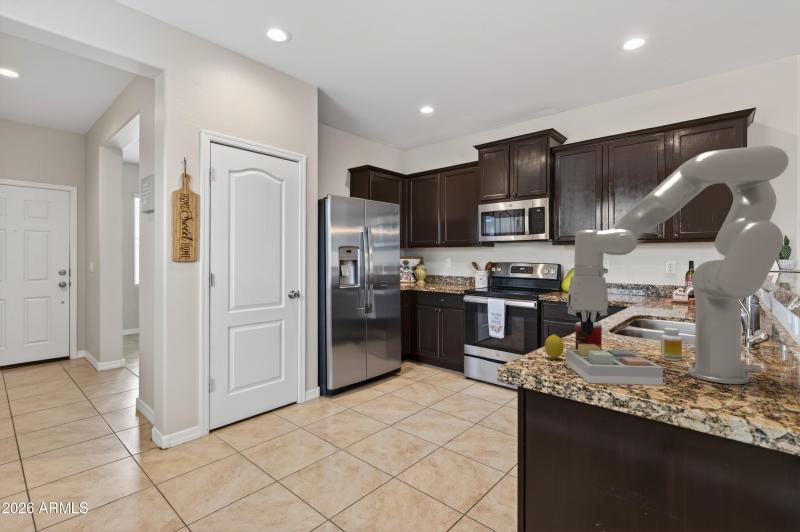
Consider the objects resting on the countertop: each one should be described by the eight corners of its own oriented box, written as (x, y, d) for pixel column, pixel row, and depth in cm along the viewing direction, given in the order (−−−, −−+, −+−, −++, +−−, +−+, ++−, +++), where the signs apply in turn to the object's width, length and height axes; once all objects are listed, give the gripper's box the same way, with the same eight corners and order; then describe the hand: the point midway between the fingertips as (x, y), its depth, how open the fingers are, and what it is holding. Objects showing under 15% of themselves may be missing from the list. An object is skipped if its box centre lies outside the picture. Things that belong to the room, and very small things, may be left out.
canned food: (602, 355, 127) (602, 322, 127) (600, 361, 121) (600, 326, 120) (577, 352, 131) (577, 320, 131) (573, 357, 125) (573, 324, 125)
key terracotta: (638, 368, 105) (638, 357, 105) (647, 373, 100) (647, 361, 100) (620, 367, 105) (620, 356, 105) (628, 372, 101) (628, 361, 101)
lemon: (565, 361, 120) (565, 336, 120) (546, 360, 121) (546, 335, 121) (561, 357, 126) (561, 332, 125) (543, 356, 127) (543, 332, 127)
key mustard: (594, 354, 114) (594, 344, 114) (600, 358, 109) (600, 347, 109) (577, 354, 114) (577, 344, 114) (583, 357, 110) (583, 347, 110)
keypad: (628, 365, 115) (628, 350, 115) (662, 385, 97) (663, 367, 97) (566, 364, 117) (566, 349, 117) (588, 383, 99) (588, 365, 99)
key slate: (623, 360, 113) (623, 350, 113) (631, 364, 108) (631, 353, 108) (607, 359, 114) (607, 349, 113) (614, 364, 109) (614, 353, 109)
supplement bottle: (686, 361, 120) (686, 330, 119) (668, 361, 120) (668, 330, 119) (673, 356, 125) (674, 327, 125) (657, 356, 125) (657, 327, 125)
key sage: (606, 361, 106) (606, 351, 105) (613, 366, 101) (613, 355, 101) (588, 361, 106) (588, 350, 106) (595, 366, 101) (595, 354, 101)
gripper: (609, 272, 114) (608, 333, 115) (557, 271, 116) (556, 331, 116) (621, 273, 107) (619, 338, 107) (565, 272, 109) (564, 336, 109)
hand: (586, 334), depth 112 cm, fingers closed
